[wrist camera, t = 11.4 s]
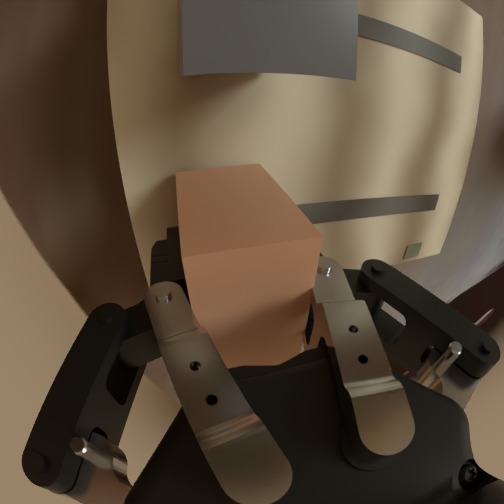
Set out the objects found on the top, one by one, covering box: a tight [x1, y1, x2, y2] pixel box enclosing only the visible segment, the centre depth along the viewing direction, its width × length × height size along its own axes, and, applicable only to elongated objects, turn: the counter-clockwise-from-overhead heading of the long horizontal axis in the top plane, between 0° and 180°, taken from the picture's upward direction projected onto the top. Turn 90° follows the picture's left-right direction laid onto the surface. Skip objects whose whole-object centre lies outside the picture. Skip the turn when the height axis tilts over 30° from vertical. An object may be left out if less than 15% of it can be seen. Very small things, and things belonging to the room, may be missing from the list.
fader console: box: [107, 0, 483, 288], centre depth 13 cm, size 22×20×2 cm
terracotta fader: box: [176, 164, 323, 368], centre depth 11 cm, size 4×6×6 cm, turn 0°
